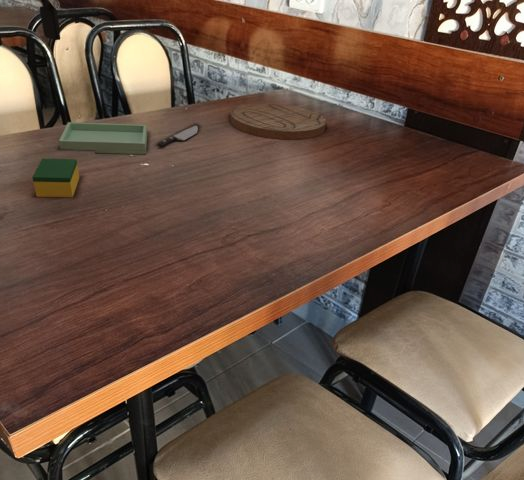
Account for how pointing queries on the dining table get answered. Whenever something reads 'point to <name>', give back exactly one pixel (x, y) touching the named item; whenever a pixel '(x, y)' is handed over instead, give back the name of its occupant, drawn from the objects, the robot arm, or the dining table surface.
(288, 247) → the dining table surface
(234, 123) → the trivet
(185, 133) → the chef's knife
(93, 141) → the tray
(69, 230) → the dining table surface
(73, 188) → the sponge
